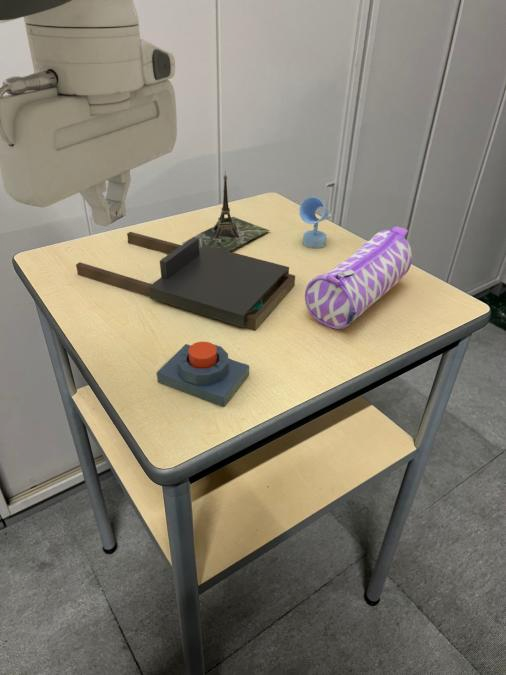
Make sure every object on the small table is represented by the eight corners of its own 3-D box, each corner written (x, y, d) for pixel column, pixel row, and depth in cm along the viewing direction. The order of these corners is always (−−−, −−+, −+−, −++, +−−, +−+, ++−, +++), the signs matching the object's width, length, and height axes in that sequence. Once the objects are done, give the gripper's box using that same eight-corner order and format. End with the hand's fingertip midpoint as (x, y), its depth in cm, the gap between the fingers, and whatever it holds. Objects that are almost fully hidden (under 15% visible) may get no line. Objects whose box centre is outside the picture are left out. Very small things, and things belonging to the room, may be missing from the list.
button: (183, 364, 66) (182, 353, 65) (198, 348, 69) (198, 338, 68) (207, 372, 65) (207, 362, 64) (222, 357, 67) (221, 346, 66)
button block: (157, 382, 68) (155, 361, 66) (186, 353, 73) (185, 333, 71) (223, 407, 64) (223, 386, 62) (249, 375, 69) (249, 354, 67)
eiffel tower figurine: (221, 259, 96) (220, 188, 88) (182, 243, 100) (177, 175, 92) (270, 232, 105) (272, 166, 97) (231, 218, 110) (231, 155, 102)
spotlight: (318, 253, 98) (331, 239, 103) (323, 203, 92) (337, 191, 97) (294, 247, 100) (308, 234, 105) (298, 197, 94) (313, 186, 99)
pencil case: (348, 343, 76) (357, 287, 70) (295, 320, 80) (300, 266, 74) (410, 283, 90) (422, 233, 84) (362, 266, 94) (370, 218, 89)
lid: (149, 298, 83) (146, 269, 80) (204, 255, 95) (203, 229, 92) (243, 327, 77) (243, 298, 74) (288, 278, 89) (290, 251, 86)
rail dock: (77, 274, 90) (75, 264, 89) (131, 240, 101) (130, 231, 99) (255, 330, 78) (255, 319, 76) (294, 285, 88) (295, 275, 87)
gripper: (22, 86, 34) (60, 270, 42) (184, 54, 50) (190, 195, 58) (-45, 76, 37) (4, 254, 45) (130, 49, 52) (143, 185, 60)
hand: (110, 220), depth 51 cm, fingers closed
